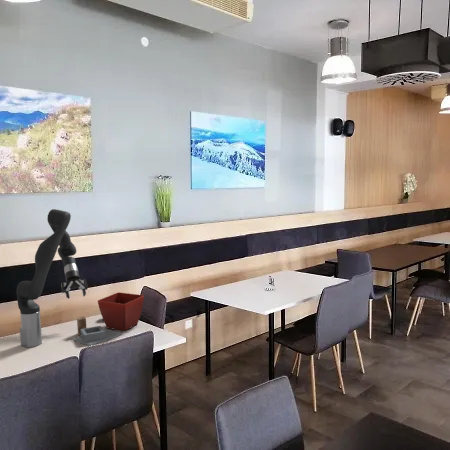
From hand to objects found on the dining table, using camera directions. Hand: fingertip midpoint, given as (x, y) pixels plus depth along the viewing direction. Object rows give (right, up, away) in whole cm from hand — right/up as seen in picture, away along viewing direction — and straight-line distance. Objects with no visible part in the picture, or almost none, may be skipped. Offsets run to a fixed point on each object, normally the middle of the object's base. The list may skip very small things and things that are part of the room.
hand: (76, 296), depth 255 cm
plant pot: (+25, -18, +3) cm, 31 cm away
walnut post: (+6, -19, -8) cm, 22 cm away
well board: (+16, -20, -15) cm, 29 cm away
